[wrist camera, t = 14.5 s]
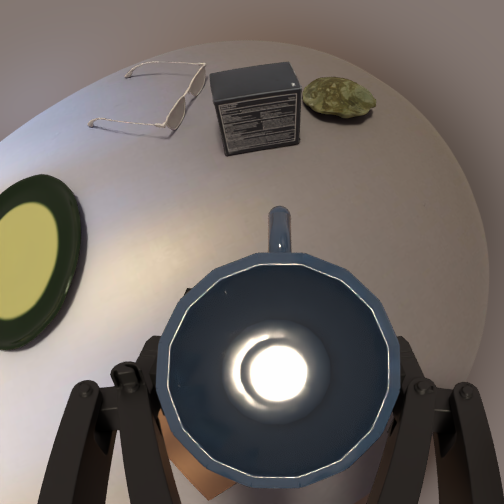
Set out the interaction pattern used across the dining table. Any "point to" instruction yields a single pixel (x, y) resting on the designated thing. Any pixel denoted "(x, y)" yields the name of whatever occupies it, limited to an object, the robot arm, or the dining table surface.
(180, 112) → the eyeglasses
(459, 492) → the robot arm
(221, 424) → the mug
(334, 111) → the seashell
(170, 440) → the cork mat
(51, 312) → the plate
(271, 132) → the small box
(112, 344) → the dining table surface
